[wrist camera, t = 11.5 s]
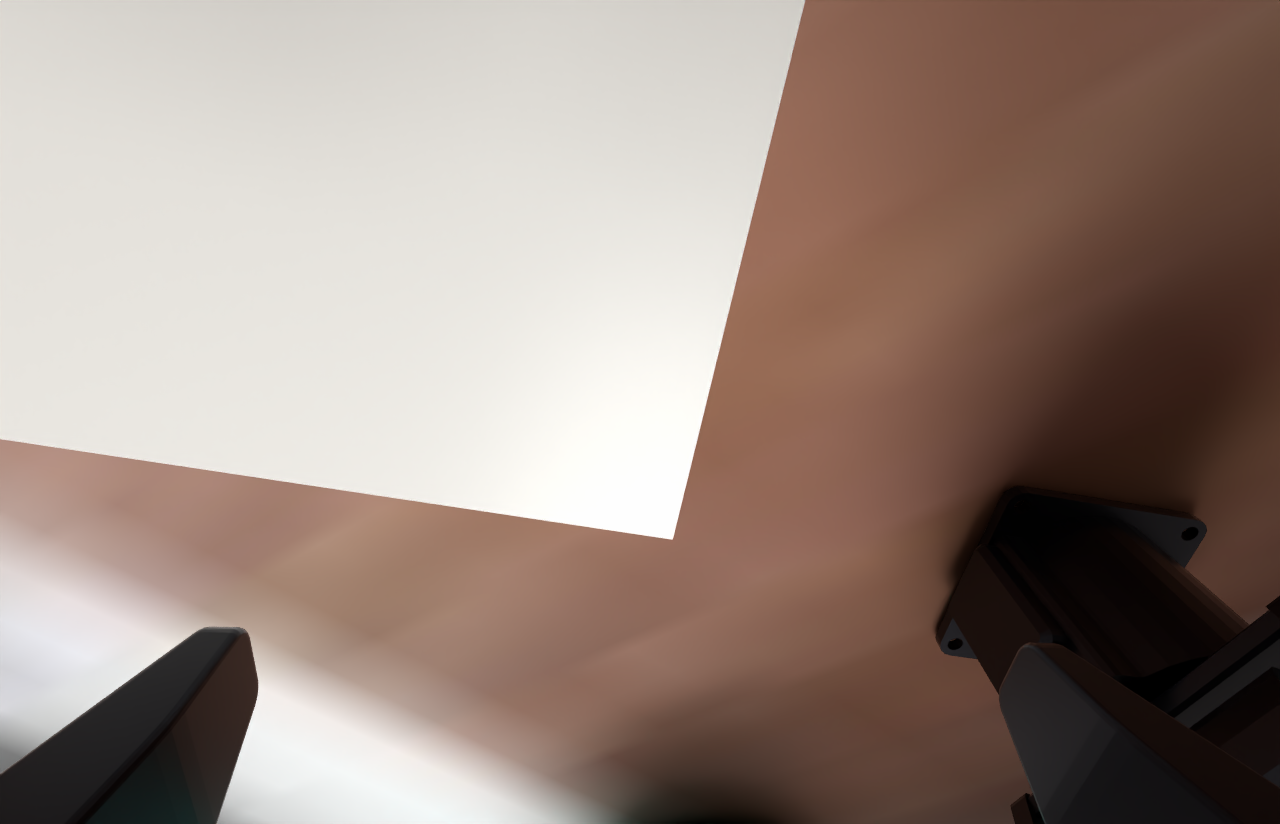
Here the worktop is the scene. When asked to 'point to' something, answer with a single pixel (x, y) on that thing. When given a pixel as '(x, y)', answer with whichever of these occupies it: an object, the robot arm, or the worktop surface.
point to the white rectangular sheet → (384, 239)
